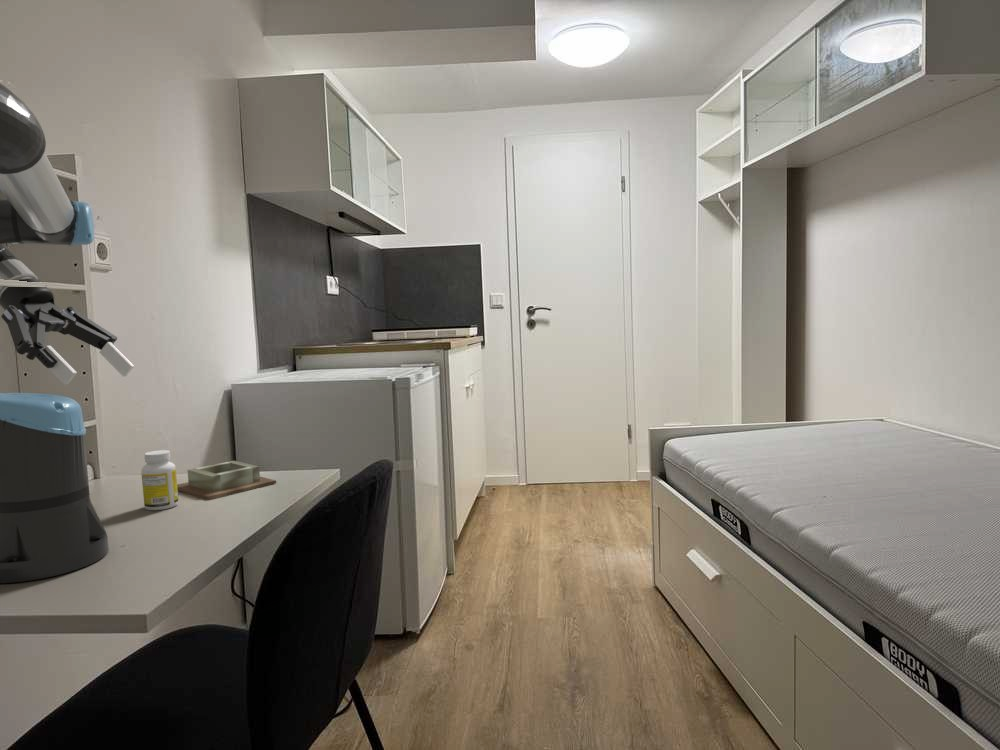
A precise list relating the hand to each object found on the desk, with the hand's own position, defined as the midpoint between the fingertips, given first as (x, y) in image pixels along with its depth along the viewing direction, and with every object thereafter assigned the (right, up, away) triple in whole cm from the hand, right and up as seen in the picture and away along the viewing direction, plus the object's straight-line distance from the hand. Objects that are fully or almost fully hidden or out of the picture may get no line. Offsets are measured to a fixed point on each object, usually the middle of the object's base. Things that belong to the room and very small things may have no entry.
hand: (101, 374), depth 116 cm
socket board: (+16, -22, +14) cm, 30 cm away
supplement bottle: (+10, -24, 0) cm, 26 cm away
